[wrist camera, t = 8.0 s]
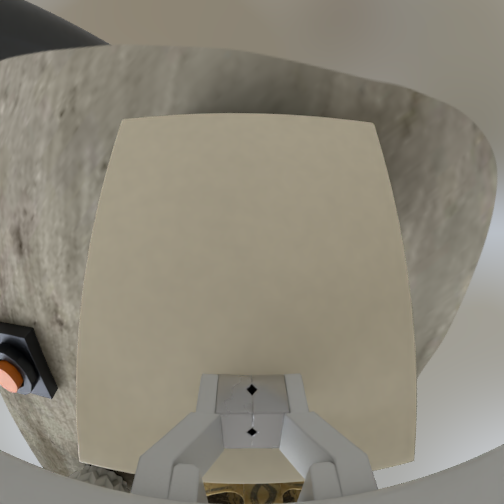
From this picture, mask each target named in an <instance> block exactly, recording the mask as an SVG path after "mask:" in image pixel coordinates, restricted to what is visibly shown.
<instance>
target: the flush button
mask: <svg viewBox="0 0 504 504" xmlns="http://www.w3.org/2000/svg"><path fill="white" fill-rule="evenodd" d="M22 383H23V378H22V376H21V374H20V373H19V372H18V370H17V369H16V368H15V367H14V366H13V365H11V364H10V363H9V362H7V361H5V360H1V361H0V385H1V386H2V387H4V388H5V389H6V390H8V391H10V392H13V393H15V392H17V391H18V389H19V388H20V386H21V385H22Z"/></svg>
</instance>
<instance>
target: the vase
mask: <svg viewBox="0 0 504 504" xmlns="http://www.w3.org/2000/svg"><path fill="white" fill-rule="evenodd" d="M68 477H69V478H73V479H76V480H79V481H82V482H86V483H89V484H93V485H97V486H101V487H105V488H109V489H113V490H118V491H122V492H127V493H130V491H129V489H128V488H127V482H126V481H124V480H123V479H122V477H121V476H118V475H116V474H115V473H114V472H113V471H108V470H106V469H105V468H103V467H97V466H95V465H91V466H88V465H85V467H84V468H83V469H82V470H79V471H75V472H74V473H72V474H71V475H69V476H68Z"/></svg>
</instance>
